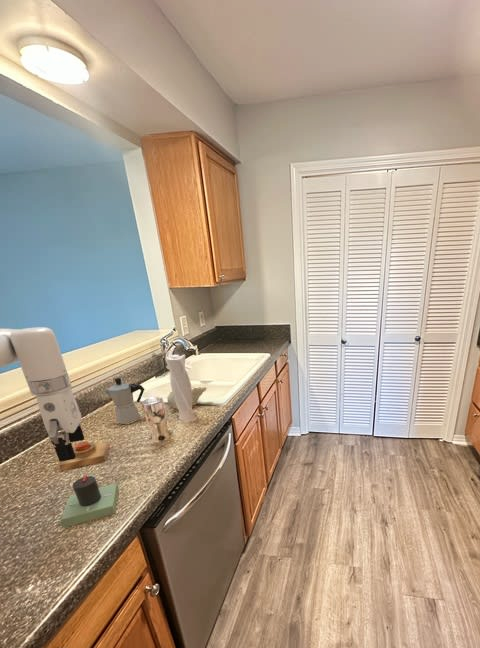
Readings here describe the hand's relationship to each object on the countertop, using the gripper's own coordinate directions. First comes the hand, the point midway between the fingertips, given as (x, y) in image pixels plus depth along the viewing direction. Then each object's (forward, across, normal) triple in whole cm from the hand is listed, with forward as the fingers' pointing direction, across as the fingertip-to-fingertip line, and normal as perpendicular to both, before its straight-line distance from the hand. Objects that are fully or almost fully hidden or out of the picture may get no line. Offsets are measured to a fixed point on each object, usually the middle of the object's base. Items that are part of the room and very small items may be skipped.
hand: (72, 449), depth 79 cm
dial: (+13, -3, -1) cm, 14 cm away
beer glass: (+16, +28, -18) cm, 37 cm away
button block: (+16, +26, +5) cm, 31 cm away
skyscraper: (+16, +41, -27) cm, 52 cm away
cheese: (+16, +56, -29) cm, 65 cm away
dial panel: (+16, -3, -1) cm, 16 cm away
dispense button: (+12, +26, +5) cm, 29 cm away
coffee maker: (+16, +52, -6) cm, 55 cm away
